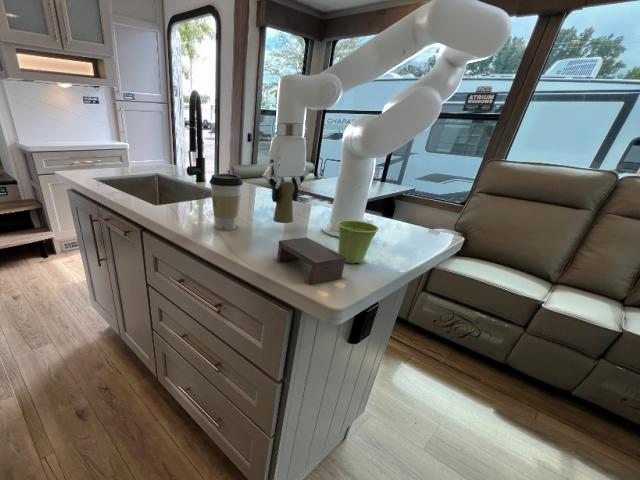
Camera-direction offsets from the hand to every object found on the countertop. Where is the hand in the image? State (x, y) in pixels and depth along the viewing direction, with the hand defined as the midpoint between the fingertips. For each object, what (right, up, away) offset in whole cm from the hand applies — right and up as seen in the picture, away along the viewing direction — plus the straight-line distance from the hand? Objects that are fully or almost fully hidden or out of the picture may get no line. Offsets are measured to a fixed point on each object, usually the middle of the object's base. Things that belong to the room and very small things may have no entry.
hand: (284, 200), depth 93 cm
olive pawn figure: (0, -5, +3) cm, 6 cm away
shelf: (+3, -22, -20) cm, 30 cm away
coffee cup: (-18, -7, +6) cm, 20 cm away
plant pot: (+15, -19, -13) cm, 28 cm away
